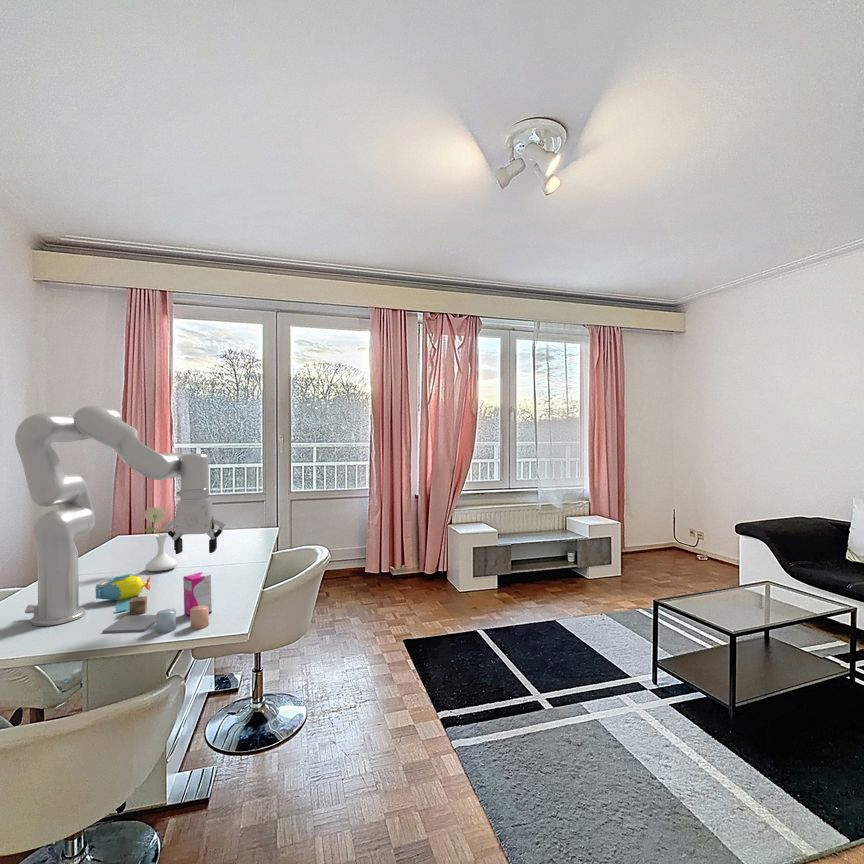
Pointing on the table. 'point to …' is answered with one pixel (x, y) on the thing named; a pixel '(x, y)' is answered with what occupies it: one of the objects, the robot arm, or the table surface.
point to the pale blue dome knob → (166, 621)
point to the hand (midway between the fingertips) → (195, 552)
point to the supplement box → (197, 591)
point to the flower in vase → (159, 542)
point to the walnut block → (138, 605)
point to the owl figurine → (121, 590)
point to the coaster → (132, 624)
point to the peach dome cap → (199, 617)
